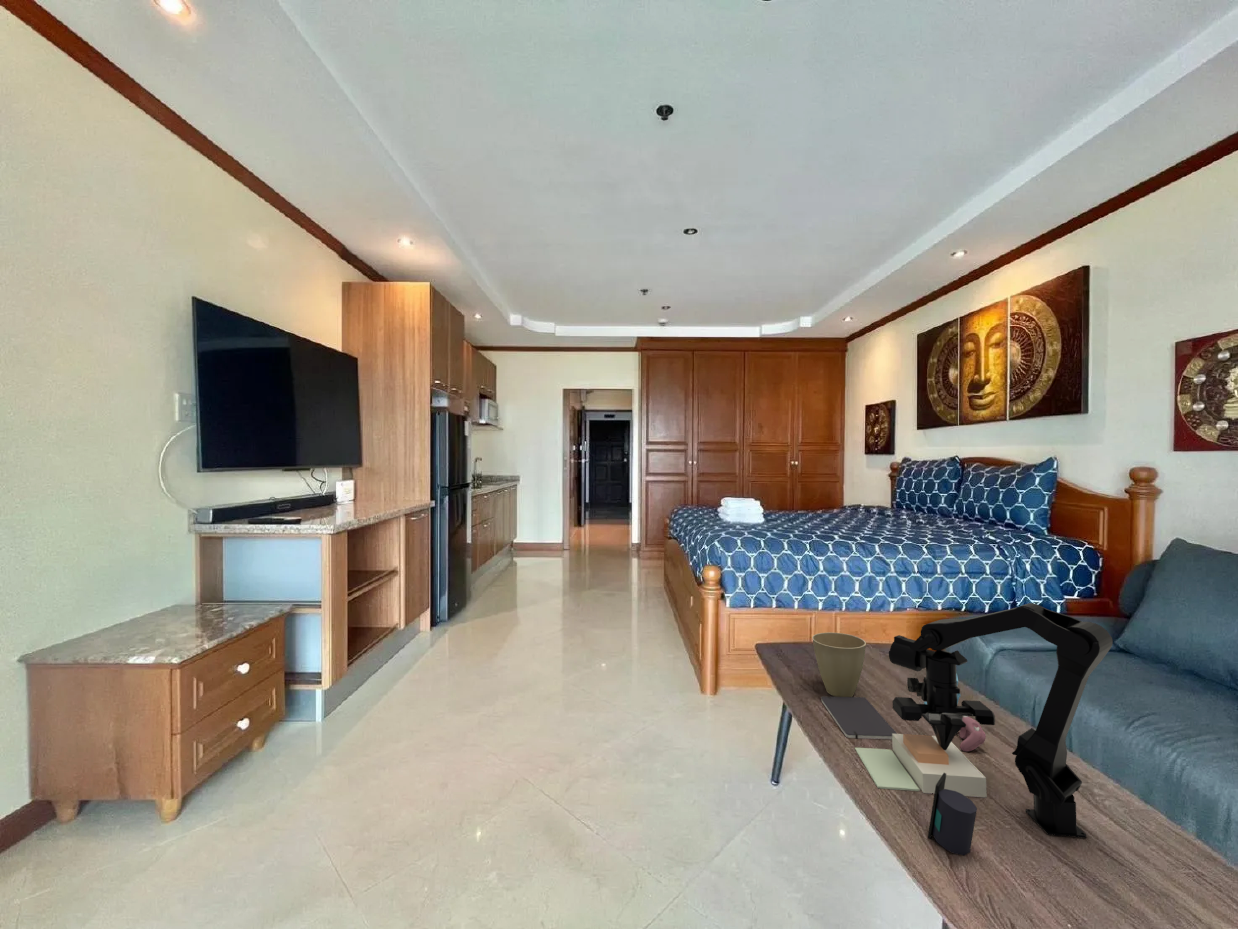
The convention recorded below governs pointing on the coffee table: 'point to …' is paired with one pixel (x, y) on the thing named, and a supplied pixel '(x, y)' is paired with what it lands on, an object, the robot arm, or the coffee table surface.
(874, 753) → the mat
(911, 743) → the tile
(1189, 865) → the coffee table surface
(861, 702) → the notebook
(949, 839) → the speaker
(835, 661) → the plant pot
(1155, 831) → the coffee table surface
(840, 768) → the coffee table surface
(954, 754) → the cream flat block
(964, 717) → the video game controller
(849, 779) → the coffee table surface
